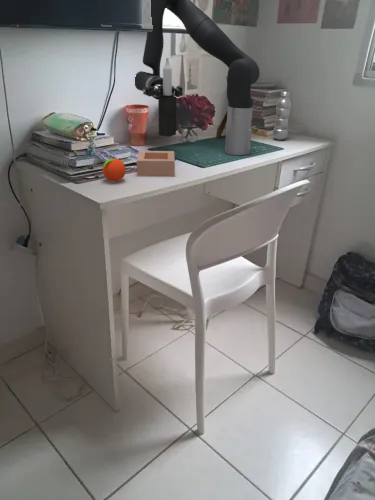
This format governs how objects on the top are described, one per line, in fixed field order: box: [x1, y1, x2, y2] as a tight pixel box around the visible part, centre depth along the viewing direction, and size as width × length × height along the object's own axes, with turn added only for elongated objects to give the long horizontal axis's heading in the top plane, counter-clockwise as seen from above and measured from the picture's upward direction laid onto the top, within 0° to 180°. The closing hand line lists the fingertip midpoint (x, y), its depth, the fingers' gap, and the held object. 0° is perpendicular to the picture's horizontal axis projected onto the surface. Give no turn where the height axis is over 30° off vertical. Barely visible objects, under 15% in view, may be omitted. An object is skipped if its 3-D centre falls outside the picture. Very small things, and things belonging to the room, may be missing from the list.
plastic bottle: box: [272, 90, 292, 141], centre depth 174 cm, size 6×7×20 cm
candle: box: [157, 56, 177, 138], centre depth 137 cm, size 5×5×25 cm
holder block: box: [136, 150, 176, 177], centre depth 133 cm, size 12×12×5 cm
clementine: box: [102, 157, 126, 182], centre depth 122 cm, size 8×7×7 cm
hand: (169, 94), depth 134 cm, fingers closed on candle, 6 cm apart
